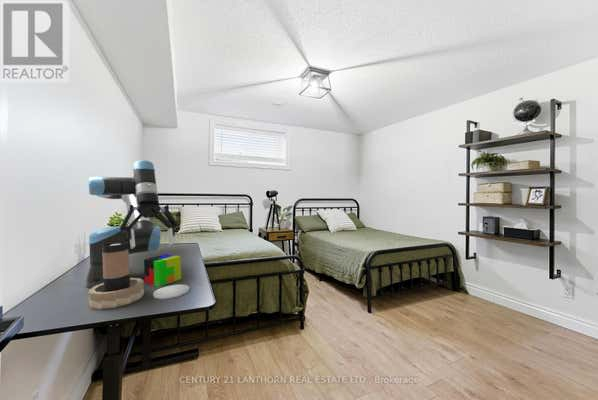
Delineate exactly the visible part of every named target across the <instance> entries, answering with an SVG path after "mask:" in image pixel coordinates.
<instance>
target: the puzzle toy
mask: <svg viewBox="0 0 598 400" xmlns="http://www.w3.org/2000/svg"><path fill="white" fill-rule="evenodd" d="M181 263H182V261H181V255H175V254H173V255H172V254H166V253H165V254H162V255H161V254H160V255H157V256H154V257H153V256H152V257H149V258H144V259H143V268H144V270H143V271H144V284H147V285H148V284H149V285H153V286H157V287H162V286H165V285H167V284H170V283H171V284H172V283H173V282H175V281H178V280H179V281H180V280H181V279H182V264H181Z"/></svg>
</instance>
